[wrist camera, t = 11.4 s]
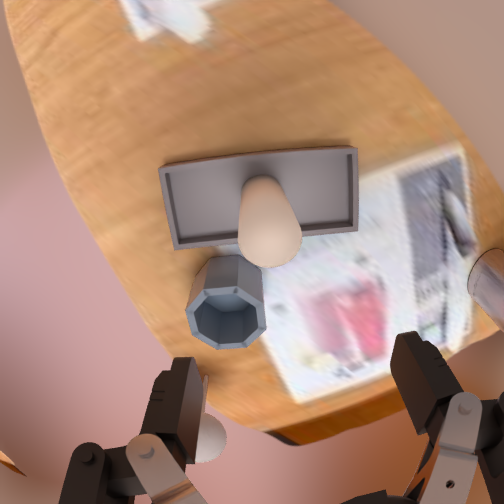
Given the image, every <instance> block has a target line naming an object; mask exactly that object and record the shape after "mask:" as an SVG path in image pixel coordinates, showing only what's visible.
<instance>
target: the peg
mask: <svg viewBox="0 0 504 504" xmlns="http://www.w3.org/2000/svg"><path fill="white" fill-rule="evenodd" d="M301 243H302V231H301V228H300V225H299V223H298V221H297V219H296V217H295V214H294V212H293V210H292V208H291V206H290V204H289V201H288V199H287V197H286V195H285V193H284V191H283V189H282V187H281V185H280V183H279V182H278V181H277V180H276V179H275V178H273V177H271V176H269V175H263V174H261V175H256V176H253V177H251V178H250V179H248V180H247V181H246V182H245V184H244V185H243V188H242V191H241V202H240V215H239V228H238V245H239V248H240V251H241V252H242V254H243V255H244V257H245V258H246V259H247V260H248V261H250V262H251V263H253V264H255V265H257V266H260V267H266V268H272V267H278V266H281V265H284V264H286V263H287V262H289V261H290V260H291V259H292V258H294V256H295V255H296V254H297V252H298V251H299V249H300V246H301Z"/></svg>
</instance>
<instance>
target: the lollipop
mask: <svg viewBox="0 0 504 504" xmlns="http://www.w3.org/2000/svg"><path fill="white" fill-rule="evenodd" d="M208 378H209V377H208V375H205V376H204V381H203V403H202V410H201V418H200V426H199V434H198V442H197V450H196V458H195V462H207V461H210V460H213V459H214V458H216V457H218V456H219V455H220V454H221V452H222V451H223V450H224V447H225V445H226V438H227V437H226V431H225V429H224V427H223V426H222V424H221V423H220V421H218V420H217V419H216V418H215V417H213V416H212V415H209V414H206V413H204V412H205V403H206V394H207V386H208Z"/></svg>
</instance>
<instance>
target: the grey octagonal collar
mask: <svg viewBox="0 0 504 504" xmlns="http://www.w3.org/2000/svg"><path fill="white" fill-rule="evenodd" d="M185 311H186V315H187V319H188V322H189V326H190V329H191V333H192V335H193V336H194V337H196V338H198V339H200V340H201V341H203V342H205V343H206V344H208V345H210V346H212V347H213V348H215V349H217V350H219V349H234V348H246V347H248V346H249V345H250V344H251V343H252V342H253V341H254V340H255V339H257V338H258V337H259V336H260V335H261V334H262V333H263V332H264V331H265V330H266V319H265V307H264V295H263V286H262V276H261V270H260V269H258V268H257V267H255V266H254V265H252V264H251V263H250V262H248V261H247V260H245V259H244V258H243V257H241V256H240V255H232V256H222V257H212V258H210V259H209V260H208V261H207V263H206V264H205V265H204V266H203V268H202V269H201V270H200V271H199V273H198V274H197V275H196V276H195V279H194V282H193V285H192V289H191V292H190V296H189V299H188V303H187V306H186V310H185Z"/></svg>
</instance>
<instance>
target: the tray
mask: <svg viewBox="0 0 504 504" xmlns="http://www.w3.org/2000/svg"><path fill="white" fill-rule="evenodd" d="M158 171H159V177H160V182H161V188H162V193H163V198H164V203H165V208H166V213H167V218H168V223H169V228H170V232H171V237H172V242H173V246H174V250H181V249H190V248H199V247H208V246H218V245H227V244H236V243H238V228H239V215H240V202H241V191H242V188H243V185H244V184H245V182H246V181H247V180H248V179H250V178H251V177H253V176H256V175H261V174H263V175H269V176H271V177H273V178H275V179H276V180H277V181H278V182H279V183H280V185H281V187H282V189H283V191H284V193H285V195H286V197H287V199H288V201H289V204H290V206H291V208H292V210H293V212H294V214H295V217H296V219H297V221H298V223H299V225H300V228H301V231H302V237H304V236H314V235H324V234H334V233H344V232H355V231H358V211H359V189H358V149H357V148H355V147H352V146H328V147H310V148H295V149H282V150H271V151H260V152H251V153H242V154H233V155H225V156H217V157H210V158H203V159H196V160H189V161H183V162H177V163H171V164H165V165H163V166H161V167H160V168H158Z"/></svg>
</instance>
